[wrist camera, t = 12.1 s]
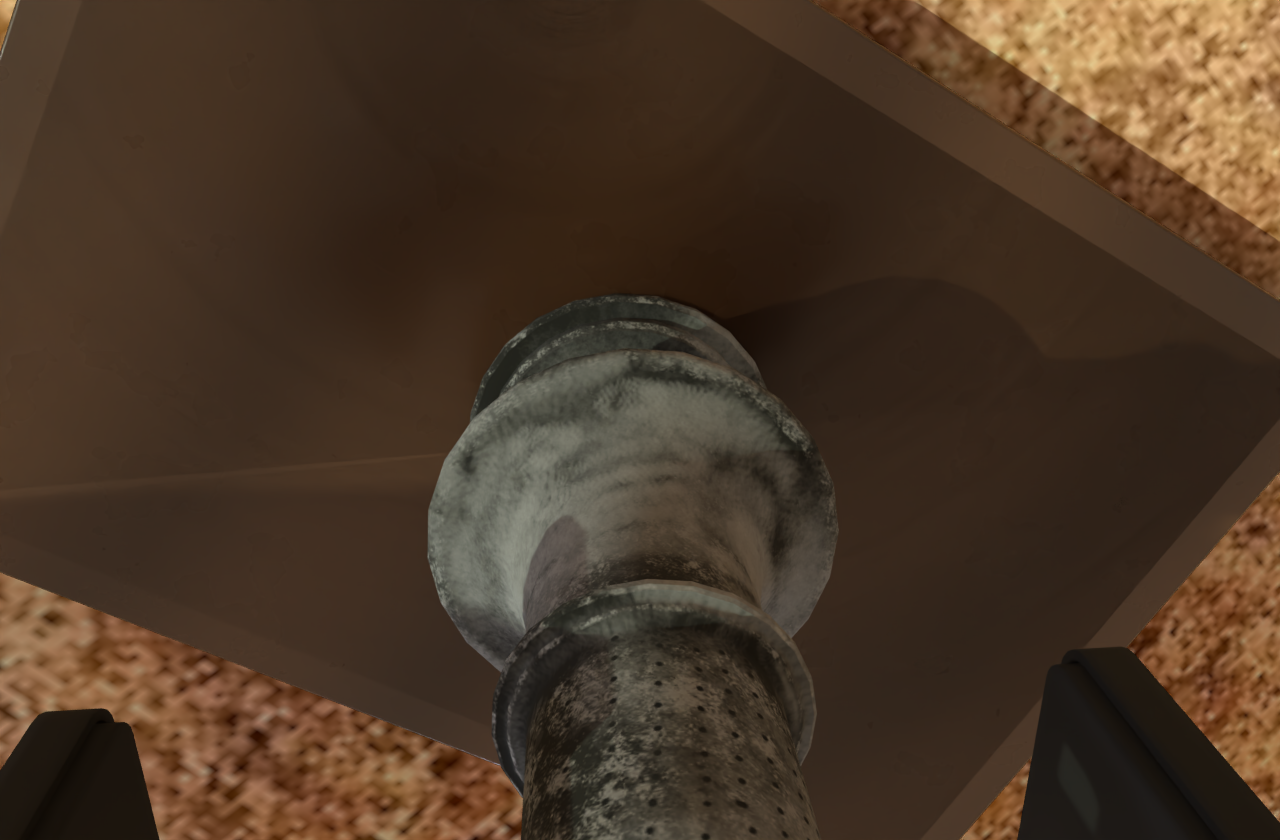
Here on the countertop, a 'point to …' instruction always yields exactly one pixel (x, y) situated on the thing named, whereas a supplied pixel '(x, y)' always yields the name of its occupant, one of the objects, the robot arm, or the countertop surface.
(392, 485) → the board
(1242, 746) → the countertop surface
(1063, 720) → the robot arm
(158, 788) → the countertop surface
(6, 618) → the countertop surface
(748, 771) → the stone chess piece
